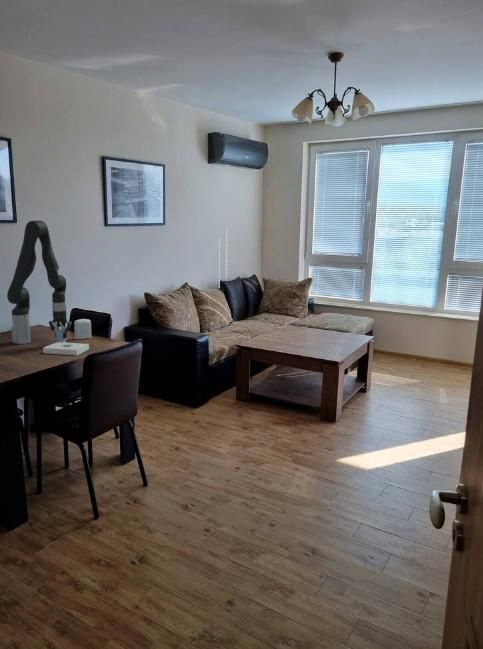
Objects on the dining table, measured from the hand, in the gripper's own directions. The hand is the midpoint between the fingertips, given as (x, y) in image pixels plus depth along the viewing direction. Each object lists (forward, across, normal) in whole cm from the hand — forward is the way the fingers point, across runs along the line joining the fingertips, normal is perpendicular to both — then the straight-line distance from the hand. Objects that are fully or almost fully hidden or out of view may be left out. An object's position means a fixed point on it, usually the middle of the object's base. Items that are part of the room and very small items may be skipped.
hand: (61, 338), depth 282 cm
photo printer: (+5, +4, +19) cm, 20 cm away
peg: (+4, 0, 0) cm, 4 cm away
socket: (+4, +10, -12) cm, 16 cm away
